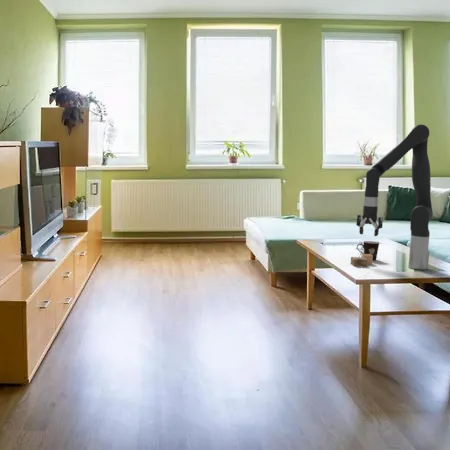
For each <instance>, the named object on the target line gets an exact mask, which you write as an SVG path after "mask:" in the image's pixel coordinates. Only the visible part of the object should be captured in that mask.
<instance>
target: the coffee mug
mask: <svg viewBox="0 0 450 450" xmlns="http://www.w3.org/2000/svg"><path fill="white" fill-rule="evenodd" d="M358 246H362V247H363V252H362V251H361V250H360V249H359V247H358ZM379 247H380V242H379V241H372V240H371V241H370V240H365V241H363V244H362V243H359V244H357V245H356V250H357V251H358V252H360V253H361V255H362V254H371V255H373V260H372V262H373V261H377V257H378V252H379Z"/></svg>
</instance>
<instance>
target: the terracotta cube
mask: <svg viewBox="0 0 450 450" xmlns="http://www.w3.org/2000/svg"><path fill="white" fill-rule="evenodd" d="M361 257H364V258H365V259H367V266H370V265H373V261H372V260H373V255H371V254H362V253H361Z"/></svg>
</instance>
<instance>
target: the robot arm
mask: <svg viewBox="0 0 450 450" xmlns="http://www.w3.org/2000/svg"><path fill="white" fill-rule="evenodd" d="M429 136H430V129H429V127H428V126H427V125H425V124H417V125H415V126H414V127H412V129H411V130H410V132H409V133H408V134H407V136H405V138H404V139H403V140H402V141H400V143H399V144H397V145H395V146H394V147H393V148H392V149H391V150H389V152H387V153H386V154H385V155H384V156H383V157H382V158H380V159H379V161H377V162H376V163H375V164H373V166H371V167H370V168H369V169H368V170H367V171H366V174H365V189H364V198H363V208H362V214H358V215H357V218H356V224H355V225H356V227H358V228H359V234H360V235H363V234H364V226H365V225H372V226H373V227H374V237H378V236H379V231H380V229H383V222H384V220H383V218H384V217H382V216H378V210H379V209H378V208H379V184H380V179H381V178H380V177H381V176H382V175H384V174H385V173H386V172H387V171H390V169H391V168H393V167H394V166H395V165H396V164H397V163H398V162H399V161H401V160H402V158H403V157H404V156H406V155H407V154H408V152H410V150H412V158H411V159H412V160H411V181H412V185H413V186H412V187H413V189H414V192H415V196H416V202H415V203H416V205H415V207H414V208H413V209H412V210H411V214H410V225H409V226H410V228H409V229H410V243H409V256H408V257H409V258H408V268H410V269H413V270H428V269H429V262H430V261H429V260H430V251H429V247H430V246H429V245H430V244H429V243H430V236H431V235H430V230H429V221H431V220H432V218H433V214H434V213H433V207H432V199H431V197H432V196H431V165H430V159H429V155H428V140H429Z"/></svg>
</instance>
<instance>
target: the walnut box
mask: <svg viewBox="0 0 450 450" xmlns="http://www.w3.org/2000/svg"><path fill="white" fill-rule="evenodd" d="M350 264H351V266H353V267H359V266H363V268H365V267H366V268H367V267H368V264H367V259H365V258H364V257H359V256H358V257H357V256H351V257H350Z"/></svg>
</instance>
